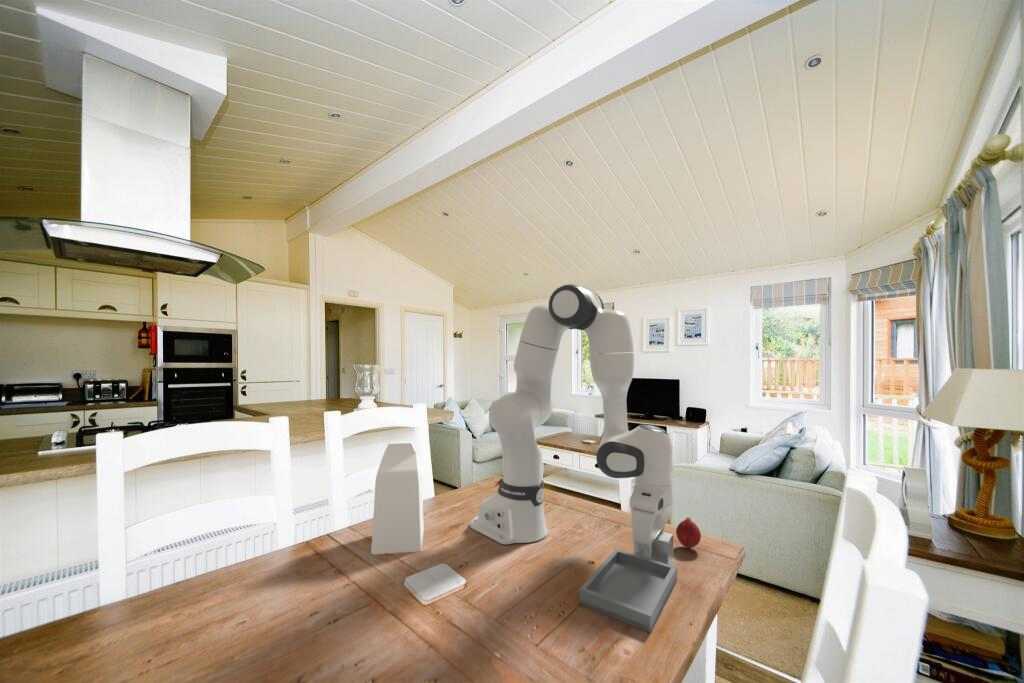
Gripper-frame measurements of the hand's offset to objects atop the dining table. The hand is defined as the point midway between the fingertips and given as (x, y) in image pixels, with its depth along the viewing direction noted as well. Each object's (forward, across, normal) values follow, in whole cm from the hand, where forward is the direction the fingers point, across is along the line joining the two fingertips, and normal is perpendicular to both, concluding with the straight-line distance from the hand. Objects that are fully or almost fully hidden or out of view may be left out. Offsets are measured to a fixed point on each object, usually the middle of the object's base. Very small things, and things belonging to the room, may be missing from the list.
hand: (653, 549), depth 98 cm
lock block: (+2, 0, 0) cm, 2 cm away
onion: (+2, -10, +6) cm, 12 cm away
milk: (+2, +31, -57) cm, 65 cm away
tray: (+2, +17, 0) cm, 17 cm away
